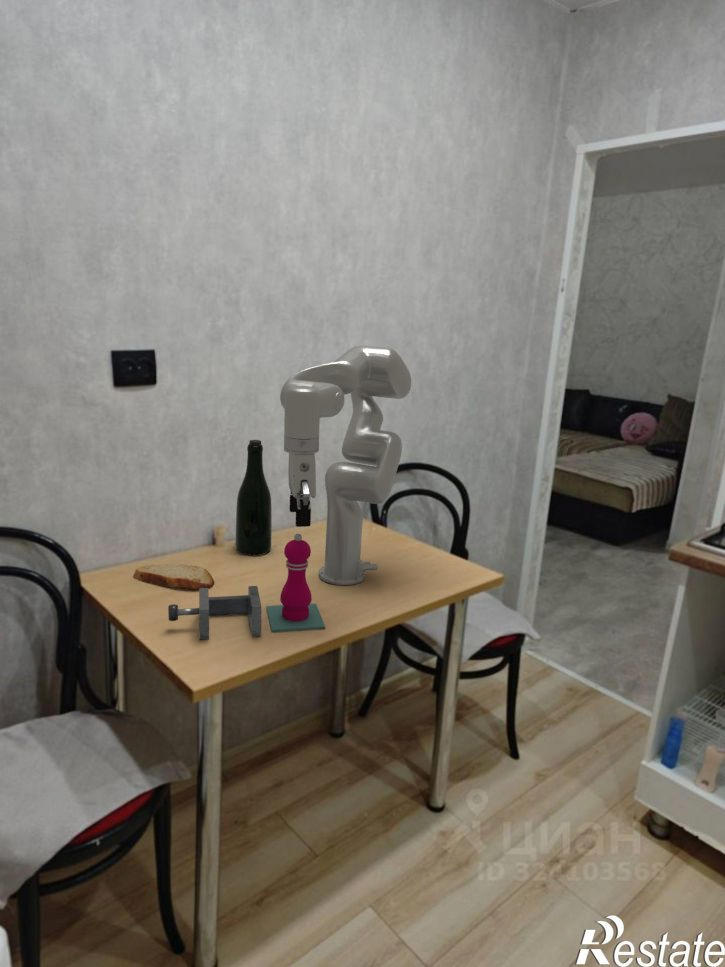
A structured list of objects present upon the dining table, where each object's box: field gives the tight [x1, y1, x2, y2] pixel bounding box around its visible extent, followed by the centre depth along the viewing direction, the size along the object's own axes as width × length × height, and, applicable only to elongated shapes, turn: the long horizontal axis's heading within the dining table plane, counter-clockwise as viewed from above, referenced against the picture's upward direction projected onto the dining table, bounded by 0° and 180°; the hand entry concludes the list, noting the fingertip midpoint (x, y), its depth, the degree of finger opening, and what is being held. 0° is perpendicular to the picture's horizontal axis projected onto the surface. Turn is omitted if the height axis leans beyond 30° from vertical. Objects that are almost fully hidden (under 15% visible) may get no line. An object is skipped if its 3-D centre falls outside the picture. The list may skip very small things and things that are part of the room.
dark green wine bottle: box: [234, 439, 273, 556], centre depth 186 cm, size 10×10×33 cm
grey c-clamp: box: [167, 585, 262, 641], centre depth 143 cm, size 20×13×7 cm, turn 104°
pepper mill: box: [279, 533, 313, 621], centre depth 147 cm, size 7×7×20 cm
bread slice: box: [132, 563, 215, 591], centre depth 165 cm, size 18×18×4 cm
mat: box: [265, 603, 326, 633], centre depth 149 cm, size 12×12×1 cm
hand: (299, 518), depth 144 cm, fingers open, 9 cm apart
